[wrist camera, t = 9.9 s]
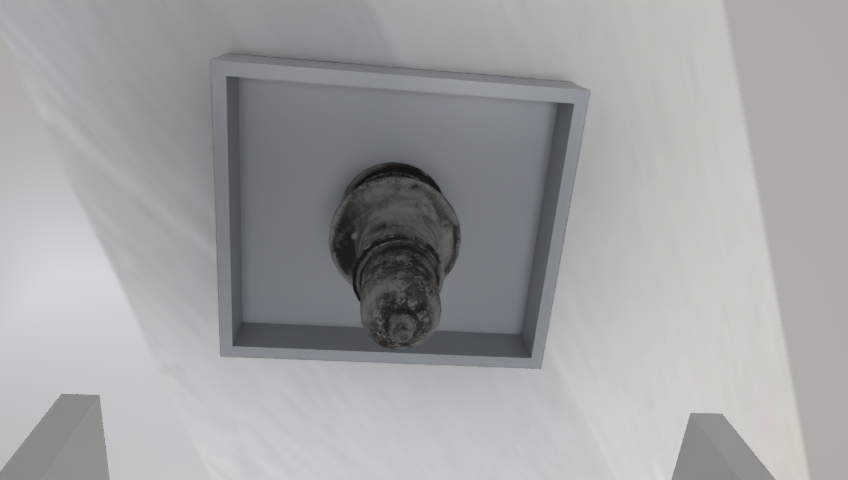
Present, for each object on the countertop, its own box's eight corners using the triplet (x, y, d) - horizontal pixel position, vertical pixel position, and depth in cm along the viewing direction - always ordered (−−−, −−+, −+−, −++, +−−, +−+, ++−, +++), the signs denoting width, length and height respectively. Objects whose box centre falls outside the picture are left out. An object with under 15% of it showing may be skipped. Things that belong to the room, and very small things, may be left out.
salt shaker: (476, 212, 32) (532, 335, 20) (394, 290, 33) (404, 445, 22) (392, 130, 30) (401, 216, 19) (308, 216, 31) (270, 344, 20)
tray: (227, 53, 29) (210, 59, 26) (570, 81, 30) (590, 90, 27) (233, 326, 34) (220, 356, 31) (528, 339, 35) (541, 368, 32)
